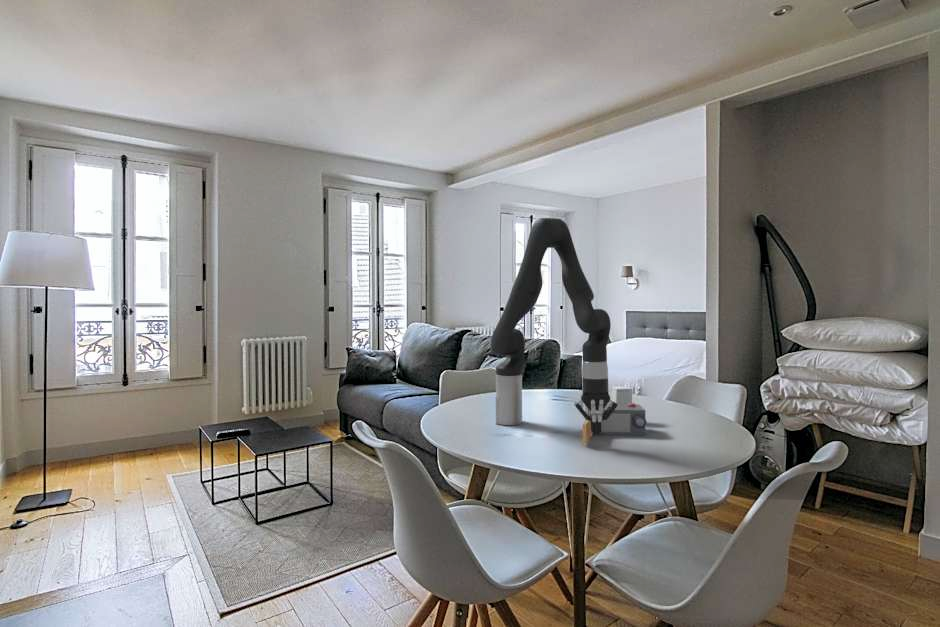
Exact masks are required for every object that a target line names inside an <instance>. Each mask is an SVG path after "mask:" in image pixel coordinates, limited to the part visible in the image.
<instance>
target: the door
mask: <svg viewBox="0 0 940 627" xmlns="http://www.w3.org/2000/svg"><path fill="white" fill-rule="evenodd" d="M589 416H590V415H589ZM592 435H594V434H593V433H592V431H591V421H589V420H585V419H584V421H583V423H582V429H581V430H580V438H581V439H582V445H587V444H588V443H589V440H590V439H591V438H592Z"/></svg>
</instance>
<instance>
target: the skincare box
mask: <svg viewBox="0 0 940 627" xmlns="http://www.w3.org/2000/svg"><path fill="white" fill-rule="evenodd" d="M611 400H612V401H613V402H615V403H617V404H628V403H633V388H631V387H629V386H612V387H611Z"/></svg>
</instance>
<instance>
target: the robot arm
mask: <svg viewBox="0 0 940 627" xmlns="http://www.w3.org/2000/svg"><path fill="white" fill-rule="evenodd" d="M549 248H550V249H551V248H552V249H554V250H555V252H556V253H557V255H558V257H559V259H560V264H561V279H562V285H563V287H564V290H565V292H566V293H567V296H568V297H569V300H570V302H571V304H572V311H573V314H574V318H575V319H574V320H575V323H576V324H577V326H578V329H580V330H581V331H582V332H583V333H586V334H588V339H587V341H585V342H584V343H583V344H582V367H581V378H582V380H581V382H582V383H581V385H582V388H581V389H582V394H581V396H580V399H579V400H578V401H577V402H574V404H573V405H574V407H575V408H576V409H577V410H578V412H579V413H580V414H581V415H582V416H583V418H584V420H585V419H586V420H589V421H591V431H592V433H593V434H592V435H594V436H595V435H596V436H597V435H598V436H599V435H600V434H599V433H601V422H602V421H603V420H607V419H608V418H609V416H610V415H611V414H612V412H613V411H614V410H615V408H616V407H617V403H615V402H613V401H612V399H611V396H610V394H609V367H608V366H609V365H608V353H607V352H608V351H607V345H608V343H609V339H610V338H609V337H610V331H611V326H612V325H611V318H610V316H609V313H608V312H607V311H606V310H604V309H602V308H594V307H593V304H592V302H593V300H594V298H595V295H594V292H593V290H592V287H591V286H590V284H589V282H588V279H587V277H586V275H585V274H584V271H583V269H582V266H581V264H580V261H579V257H578V255H577V251H576V248H575V244H574V242H573V238H572V235H571V231H570V228H569V227H568V224H567V223H566V222H565V221H564V220H563V219H560V218H552V217H550V218H549V217H542V218H538V219H536V220H535V222H534V223H533V225H532V226H531V228H530V231H529V234H528V238H527V243H526V247H525V250H524V254H523V256H522V257H523V258H522V261H521V264H520V267H519V270H518V273H517V274H516V277H515V279H514V282H513V286H512V288H511V290H510V293H509V297H508V299H507V302H506V304H505V308H504V309H503V312H502V314H501V317H500V318H499V320H498V322H497V324H496V327H495V328H494V331H493V333H492V335H491V339H490V348H491V351H492V353H493V354H494V355H496V356H499V357H500V356H502V357H503V356H505V360H503V362H501V363H500V364H498V365H496V367H495V424H496V425H503V426H517V425H520V424H522V423H523V369H524V366H525V351H526V350H525V349H526V343H525V336H524V334H523V331H521V330H520V329H518V328H516V326H517V325H518V323H519V322H520V321H521V320H522V319H524V317H525V316H526V315H527V314H529V313H530V311H531V310H533V308H534V307H535V305H536V304H537V302H538V298H539V297H540V295H541V292H542V288H543V275H542V263H543V259H544V256H545V254H546V253H547V252H546V251H547V250H548V249H549ZM607 404H608V408H607V409H606V411H605V412H604V413H603V409H604V408H605V407H606V405H607ZM585 405H586V407H587V408H588V409H589V413H590V416H589V415H587V413H586V412H585V409H584V408H585ZM602 414H603V415H602Z"/></svg>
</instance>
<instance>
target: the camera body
mask: <svg viewBox="0 0 940 627" xmlns="http://www.w3.org/2000/svg"><path fill="white" fill-rule="evenodd" d="M607 408H608V404H607V405H606V407H605V408H604V409H603V413H604V412H605V411H606V409H607ZM584 411H585V412H586V413H587V415H590V413H589V409H588V408H587V407H586V405H585V404H584ZM602 415H603V414H602ZM585 420H586V419H585V418H584V421H585ZM646 427H647V419H646V409H645V408H643V406H642V405H640V404H639V403H637V404H636V403H635V402H632V403H628V404H617V407H616V408H615V410H614V411H613V412H612V414H611V415H610V416H609V418H608V419H607V420H603V421H602V422H601V433H599V435H620V434H637V435H636V436H646ZM638 434H640V435H638ZM641 434H643V435H641Z"/></svg>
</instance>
